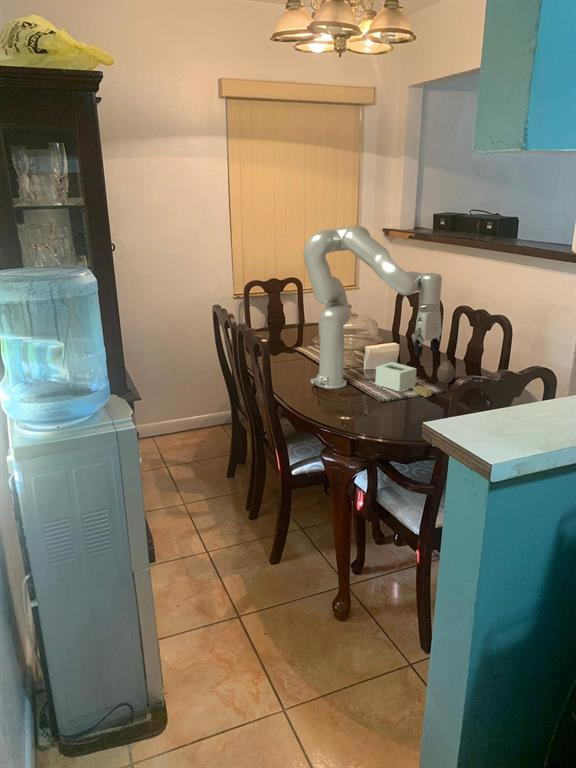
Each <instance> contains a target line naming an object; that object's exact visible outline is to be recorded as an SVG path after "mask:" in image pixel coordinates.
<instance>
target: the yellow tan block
mask: <svg viewBox="0 0 576 768" xmlns="http://www.w3.org/2000/svg"><path fill="white" fill-rule="evenodd" d="M432 391H433V390H432V388H430V387H427V386H426V387H425V386H423V385H422V386H421V385H419V384H418V385H415V387H413V389H412V393H413V392H414V393H417V394H420V395H422V396H424V397H428V398H429V396H430V397H432V394H433V393H432ZM424 397H423V398H424Z"/></svg>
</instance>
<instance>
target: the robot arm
mask: <svg viewBox="0 0 576 768" xmlns="http://www.w3.org/2000/svg"><path fill="white" fill-rule="evenodd" d="M339 251H340V252H341V251H342V252H343V251H349V252H351V253H352V254H353V255H355V257H357V258H358V259H359V260H361V261H362V262H363V263H365V264H366V265H367V266H368V267H369V268H371V270H372V271H373V272H374V273H375V274H376V275H377V276H378V277H379V278H380V279H381V280H382V281H383V283H385V284H387V286H389V288H391V289H393V290H394V291H395V292H396V293H397V294H399V295H401V296H410V295H412V294H414V293H417V292H419V294H418V308H417V309H418V310H417V316H416V321H415V322H416V323H415V331H414V332H413V333H412V334H411V339H412V343H413V345H414V350H413V351H414V354H413V355H414V356H416V357H420V358H421V357H423V351H424V350H423V349H424V348H423V347H424V346H423V344H424V342H425V341H428V342H429V341H430V346H429V347H430V349H429V350H430V351H431V352H435V353H438V352H439V343H440V342H441V341H440V340H441V336H442V332H443V329H444V328H443V327H442V313H441V311H440V310H441V295H442V294H441V293H442V282H443V281H442V278H443V277H442V274H440V273H437V272H425V273H424V272H417V271H405V270H404V269H402V268H401V267H400V266H399V265H398V264H397V263H396V262H395V261H394V260H393V259H392V257H391V255H390V251H389V250H387V248H386V247H384V245H382V244H380V243H379V242H378V241H376V239H374V238H373V237H371V234H370V231H369V230H368V229H367V228H366V227H364V226H361V225H357V226H350V227H343V228H342V227H341V228H331V229H327V230H326V229H325V230H324V229H323V230H321V231H317V232H315V233H314V234H312V235H311V236H310V237H309V238H308V240H307V241H306V242H305V245H304V248H303V260H304V264H305V267H306V272H307V275H308V279H309V281H310V286H311V290H312V292H313V296H314V299H315V301H316V302H318V303H319V304H322V305H324V306H325V308H324V309H322V311H321V312H320V314H319V317H318V330H319V366H318V367H319V368H318V369H319V372H318V374H317V375H316V377H315V378H311V379H310V384H315V386H317V387H319V388H322V389H328V390H329V389H331V390H334V389H341V388H344V387H346V386H347V383H348V382H347V380H346V379H344V359H345V358H344V357H345V356H344V353H345V336H344V326H345V325H346V324H347V323H348V322H349V321H350V319H351V307H350V305H349V301H348V297H347V293H346V290H345V287H344V284H343V283H342V281H341V280H340V279H339V278H338V277H336V276H333V275H332V272H331V269H330V265H329V263H328V261H327V258H326V256H327V254H330V253H334V252H339Z"/></svg>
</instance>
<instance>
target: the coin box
mask: <svg viewBox="0 0 576 768" xmlns="http://www.w3.org/2000/svg"><path fill="white" fill-rule="evenodd" d="M416 379H417V368H415V367H413V366H408V365H405V364H403V363H402V364H401V363H398V362H393V361H391V362H387V363H384V364H381V365H378V366H376V367H375V380H374V383H375V384H377V385H380V386H384V387H387V388H390V389H393V390H396V391H401V390H405V389H408V388H411V387H414V386H415V387H416Z"/></svg>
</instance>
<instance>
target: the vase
mask: <svg viewBox="0 0 576 768" xmlns="http://www.w3.org/2000/svg"><path fill="white" fill-rule="evenodd" d="M455 373H456V371H455V367H454V366H453V364H452V363H451V360H450V359H449V360H448V359H445V360H443V362H442V363H441V364H440V365H439V366H438V367H437V372H436V376H437V379H438V380H439V382H441V383H444V384H449V383H451V382H452V381H453V380H454V378H455V375H456V374H455Z"/></svg>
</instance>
